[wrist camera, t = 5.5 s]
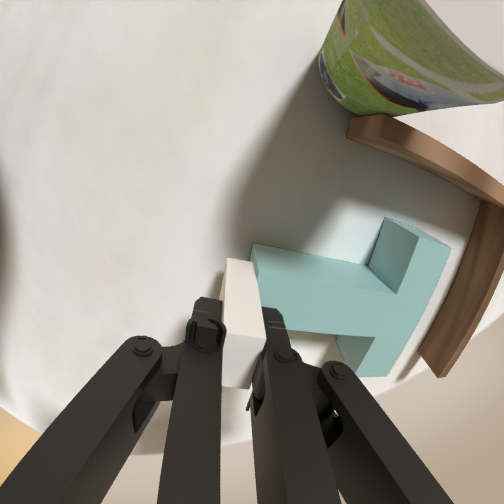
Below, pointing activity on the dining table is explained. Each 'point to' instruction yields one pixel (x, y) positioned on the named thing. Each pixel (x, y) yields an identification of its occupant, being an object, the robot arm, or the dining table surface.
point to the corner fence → (481, 242)
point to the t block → (356, 293)
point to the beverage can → (414, 55)
